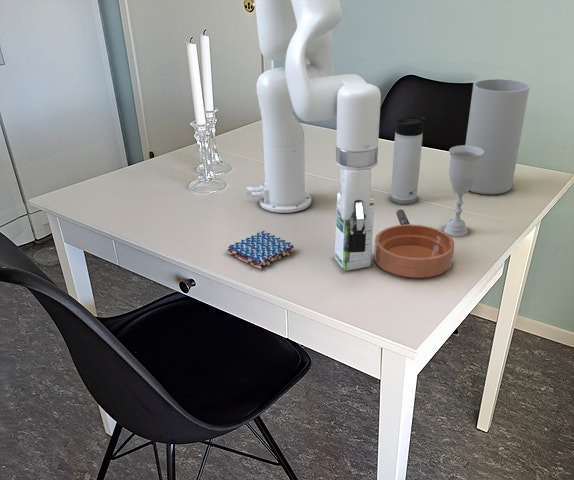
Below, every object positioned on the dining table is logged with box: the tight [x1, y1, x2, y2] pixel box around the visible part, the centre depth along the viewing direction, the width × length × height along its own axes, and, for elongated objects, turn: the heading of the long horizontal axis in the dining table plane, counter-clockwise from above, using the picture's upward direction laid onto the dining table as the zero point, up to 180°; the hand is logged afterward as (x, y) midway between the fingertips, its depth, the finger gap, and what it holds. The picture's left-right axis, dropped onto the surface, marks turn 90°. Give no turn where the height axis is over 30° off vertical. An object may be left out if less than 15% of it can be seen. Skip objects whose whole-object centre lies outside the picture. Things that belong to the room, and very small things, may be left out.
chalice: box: [443, 144, 484, 237], centre depth 128 cm, size 7×7×18 cm
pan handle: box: [395, 208, 411, 225], centre depth 129 cm, size 9×2×2 cm, turn 1°
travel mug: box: [390, 116, 426, 205], centre depth 143 cm, size 6×7×20 cm
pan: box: [373, 223, 455, 278], centre depth 120 cm, size 15×15×4 cm
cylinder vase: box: [464, 78, 531, 196], centre depth 147 cm, size 12×12×25 cm
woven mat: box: [226, 230, 295, 271], centre depth 125 cm, size 10×11×2 cm
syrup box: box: [334, 191, 376, 272], centre depth 118 cm, size 6×6×14 cm
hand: (353, 239), depth 119 cm, fingers open, 9 cm apart
